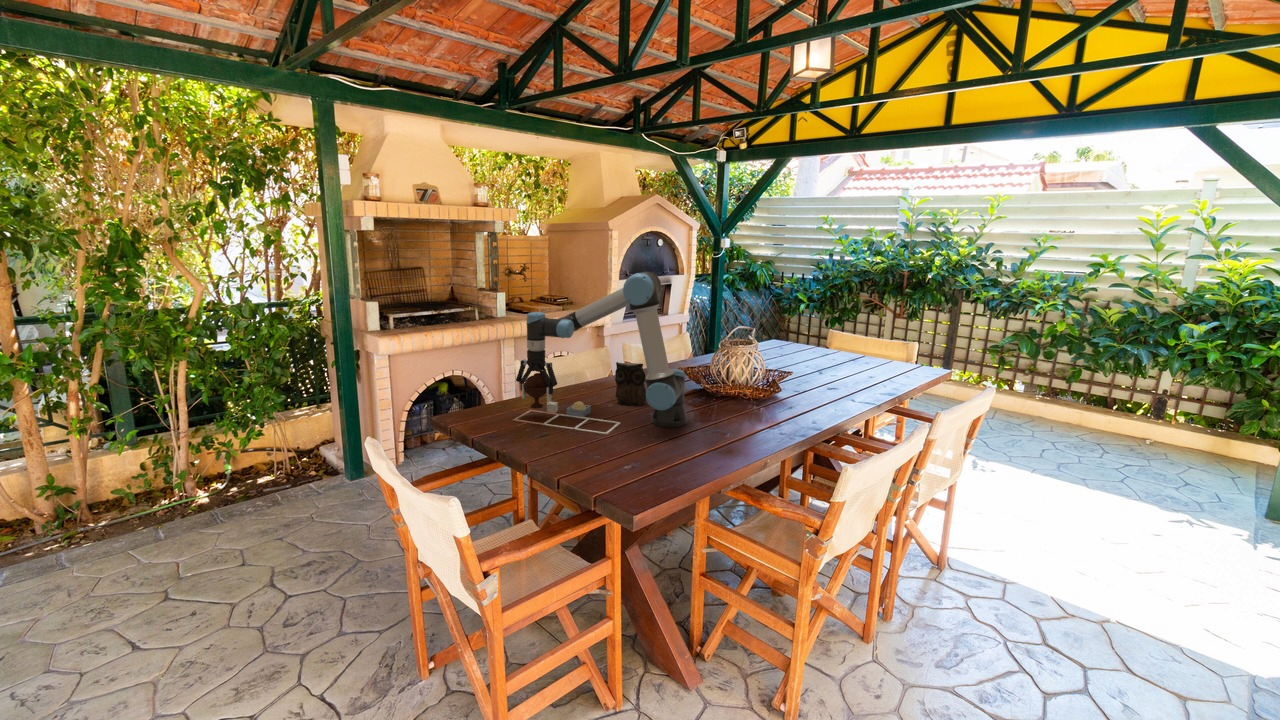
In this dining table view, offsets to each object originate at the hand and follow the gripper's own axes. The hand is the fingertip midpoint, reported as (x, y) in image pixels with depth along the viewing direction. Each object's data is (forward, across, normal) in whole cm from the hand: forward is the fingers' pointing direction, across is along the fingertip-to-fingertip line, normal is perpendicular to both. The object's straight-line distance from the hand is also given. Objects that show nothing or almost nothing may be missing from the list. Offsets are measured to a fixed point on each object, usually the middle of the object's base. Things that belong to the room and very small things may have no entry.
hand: (536, 399), depth 248 cm
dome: (+8, +14, +12) cm, 20 cm away
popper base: (+8, +14, +12) cm, 20 cm away
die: (+8, +2, +10) cm, 13 cm away
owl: (+8, +30, +37) cm, 48 cm away
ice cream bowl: (+3, 0, 0) cm, 3 cm away
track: (+8, +14, 0) cm, 16 cm away
